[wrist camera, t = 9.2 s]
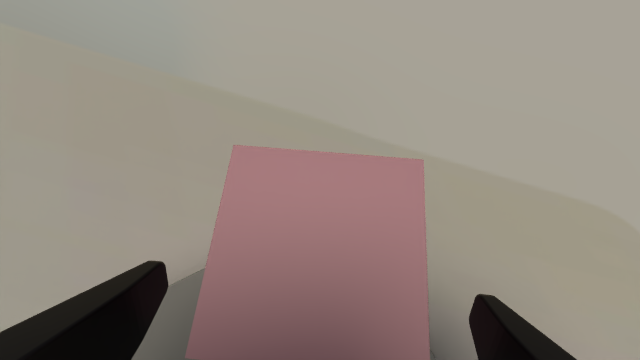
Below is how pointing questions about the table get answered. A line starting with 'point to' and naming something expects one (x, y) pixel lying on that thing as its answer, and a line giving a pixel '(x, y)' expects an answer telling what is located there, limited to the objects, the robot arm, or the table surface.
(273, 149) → the pink box
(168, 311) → the mat
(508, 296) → the table surface
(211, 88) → the table surface
